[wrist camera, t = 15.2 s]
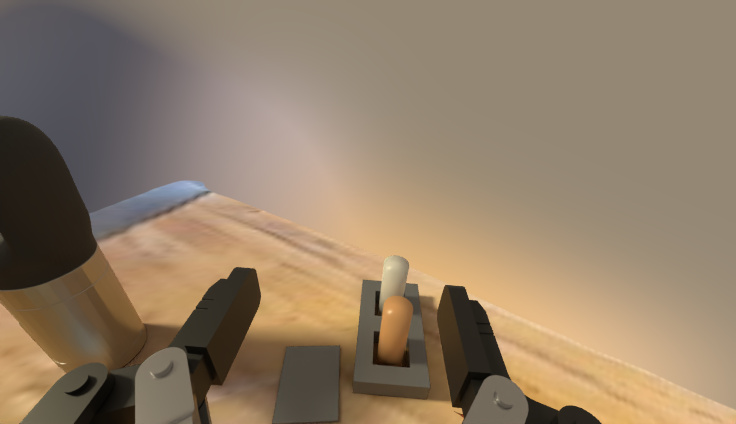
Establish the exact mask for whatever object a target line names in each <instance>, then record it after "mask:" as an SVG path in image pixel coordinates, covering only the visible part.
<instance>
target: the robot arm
mask: <svg viewBox="0 0 736 424" xmlns="http://www.w3.org/2000/svg"><path fill="white" fill-rule="evenodd" d="M0 233H1V234H0V303H1V304H2V305H3V306H4V307H5V308H6V309H7V310H8V311H9V312H10V313H11V314H12V315H13V316H14V318H15V319H16V320H17V321H18V322H19V324H20V326H21V327H22V328H23V329H24V330H25V331H26V332H27V333H28V334H29V335H30V336H31V338H32V339H33V340H34V341H35V342H36V343H37V344H38V345H39V346H40V347H41V348H42V349H43V350H44V351H45V353H46V354H47V355H48V356H49V357H50V358H51V359H52V360H53V361H54V362H55V363H56V364H57V365H58V366H59V367H61V368H62V369H63V370H64V371H65V372H66V374H65V375H64V376H63V377H61V378H60V379H59V380H58V381H57V382H56V383H55V384H54V385H53V386H52V387H51V389H50V390H49V391H48V392H47V393H46V394H45V395H44V396H43V398H42V399H41V400H40V401H39V402H38V403H37V404H36V406H35V407H34V408H33V409H32V410H31V411H30V412H29V413H28V415H27V416H26V417H25V418H24V419H23V420H22V421H21V423H20V424H212V422H211V417H210V412H209V407H208V401H207V397H206V394H207V392H208V390H209V388H210V386H211V385H223V383H224V380H225V378H226V376H227V374H228V372H229V370H230V368H231V365H232V363H233V361H234V359H235V357H236V355H237V353H238V350H239V348H240V346H241V344H242V342H243V340H244V338H245V335H246V333H247V331H248V329H249V327H250V325H251V322H252V320H253V318H254V316H255V314H256V312H257V310H258V307H259V304H260V299H261V292H260V287H259V283H258V278H257V273H256V270H255V269H253V268H241V267H236V268H234V269H233V271H232V272H231V274H230V275H229V277H228V278H227V279H220V280H219V281H217V282H216V283H215V284H214V285H212V286H211V287H210V288H209V289H208V291H207V292H206V294H205V295H204V296H203V298H202V301H200V302H199V304H198V305H197V307H196V309H195V310H194V311H193V312H192V314H191V315H190V317H189V318H188V319H187V321H186V322H185V324H184V325H183V327H182V328H181V330H180V331H179V332H178V334H177V335H176V337H175V338H174V340H173V341H172V342H171V344H170V345H169V346H168V347H167V348H165V349H162V350H160V351H158V352H156V353H154V354H152V355H151V356H150V357H148V358H147V359H146V360H145V361H144V362H143V363H142V364H138V365H134V366H129V367H125V368H122V367H123V366H124V365H126V364H127V363H128V362H130V361H131V360H132V359H133V358H134V357H135V356H136V355H137V354H138V353H139V352H140V350H141V349H142V347H143V346H144V344H145V341H146V338H147V331H146V328H145V326H144V325H143V323H142V321H141V319H140V318H139V316H138V314H137V312H136V310H135V308H134V307H133V305H132V303H131V301H130V300H129V298H128V296H127V294H126V293H125V291H124V289H123V287H122V286H121V284H120V282H119V280H118V278H117V277H116V275H115V273H114V271H113V270H112V268H111V266H110V264H109V263H108V261H107V259H106V258H105V256H104V254H103V252H102V251H101V249H100V247H99V245H98V244H97V242H96V240H95V238H94V236H93V234H92V228H91V221H90V217H89V213H88V211H87V209H86V207H85V204H84V202H83V200H82V198H81V196H80V194H79V192H78V190H77V187H76V185H75V183H74V181H73V178H72V176H71V174H70V172H69V169H68V168H67V165H66V164H65V161H64V159H63V157H62V156H61V154H60V152H59V151H58V149H57V148H56V146H55V145H54V144H53V142H52V141H51V140H50V139H49V138H48V137H47V136H46V135H45V134H44V133H43V132H42V131H41V130H40V129H38V128H37V127H36V126H34V125H32V124H31V123H29V122H27V121H24V120H21V119H18V118H14V117H8V116H0ZM437 321H438V328H439V334H440V339H441V345H442V351H443V356H444V362H445V368H446V373H447V379H448V385H449V390H450V396H451V402H452V407H456V408H462V411H463V416H464V420H463V422H462V424H601V423H600V421H599V420H598V419H596V418H595V417H594V416H593V415H592V414H590V413H589V412H587V411H586V410H584V409H582V408H579V407H576V406H565V407H563V408H562V409H560V411H558V410H556V409H553V408H551V407H548V406H546V405H544V404H541V403H539V402H536V401H534V400H532V399H530V398H529V397H527V396H526V395H524V393H523V392H522V390H521V389H520V388H519V387H518V386H517V385H516V384H515V383H514V382H512V381H511V379H510V377H509V375H508V372H507V370H506V367H505V364H504V361H503V358H502V356H501V353H500V350H499V347H498V344H497V342H496V339H495V336H494V335H493V334H494V333H493V330H492V328H491V326H490V322H489V319H488V316H487V314H486V311H485V310H484V309H483V307H482V306H481V305H480V304H479V303H478V301H475V300H469V298H468V295H467V292H466V289H465V287H463V286H452V285H445V287H444V290H443V293H442V297H441V300H440V304H439V307H438V313H437Z"/></svg>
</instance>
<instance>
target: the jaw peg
mask: <svg viewBox="0 0 736 424" xmlns="http://www.w3.org/2000/svg"><path fill="white" fill-rule="evenodd" d="M412 315H413V305H412V304H411V302H410V301H409V300H408V299H406V298H404V297H402V296H391V297H389V298H387V299H386V300H385V302H384V306H383V313H382V321H381V329H380V336H379V344H378V352H377V365H383V366H395V367H401V365H402V361H403V356H404V352H405V347H406V342H407V338H408V333H409V328H410V324H411V319H412Z"/></svg>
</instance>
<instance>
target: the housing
mask: <svg viewBox="0 0 736 424" xmlns="http://www.w3.org/2000/svg"><path fill="white" fill-rule="evenodd" d="M408 269H409V263H408V261H407V260H406V259H405V258H403V257H400V256H389V257H387V258H386V259H385V261H384V267H383V275H382V281H372V280H363V284H362V295H361V305H360V316H359V326H358V337H357V347H356V358H355V368H354V379H353V393H360V394H372V395H383V396H394V397H405V398H417V399H427V396H428V393H429V390H430V381H429V373H428V365H427V357H426V349H425V341H424V333H423V324H422V316H421V308H420V300H419V292H418V284H409V283H406V280H407V275H408ZM391 296H402V297H404V298H406V299H408V300H409V301H410V302H411V304H412V305H413V315H412V319H411V324H410V328H409V333H408V338H407V342H406V362H407V368H406V367H395V366H383V365H372V364H373V343H379V336H380V329H381V321H382V313H383V306H384V302H385V300H386V299H387V298H389V297H391ZM375 302H376V303H379V309H378V316H375Z"/></svg>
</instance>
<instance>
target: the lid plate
mask: <svg viewBox="0 0 736 424" xmlns="http://www.w3.org/2000/svg"><path fill="white" fill-rule="evenodd" d="M339 358H340V346H299V347H287V348H286V353H285V358H284V364H283V369H282V374H281V379H280V384H279V390H278V395H277V400H276V405H275V411H274V416H273V421H272V424H304V423H326V422H338V400H339Z"/></svg>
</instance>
